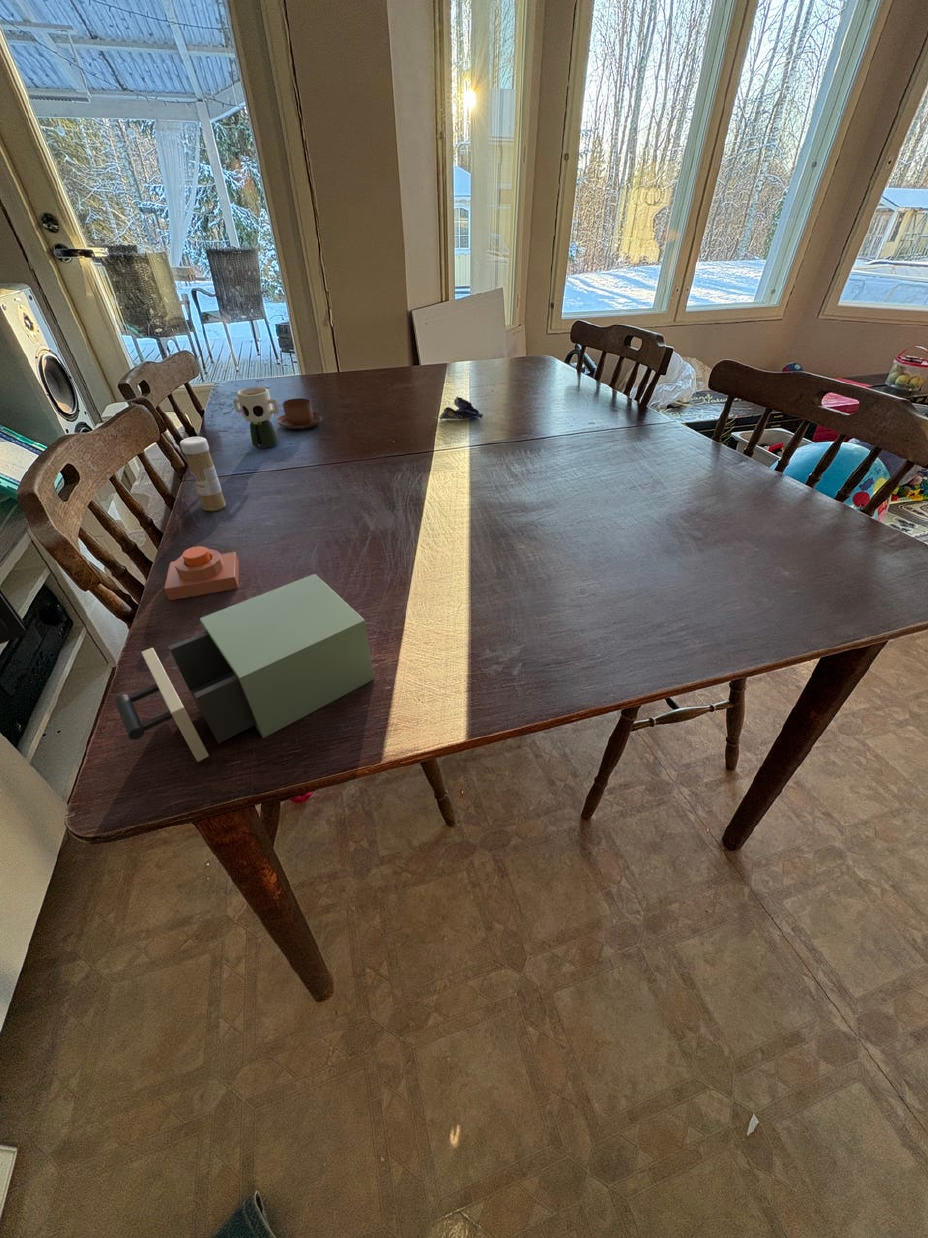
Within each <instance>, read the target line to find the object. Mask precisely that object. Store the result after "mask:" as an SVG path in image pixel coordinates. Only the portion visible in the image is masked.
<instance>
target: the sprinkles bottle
mask: <svg viewBox="0 0 928 1238" xmlns="http://www.w3.org/2000/svg"><path fill="white" fill-rule="evenodd" d="M179 446H180V449H181V451H182V453H183V455H184V456H185V459H186V462H187V465H188V469H189V470H190V474H191V477H192V481H193V483H194V487H195V489H196V490H195V491H196V492H197V495H198V497H199V500H200V503H201V508H202V509H203V510H204V511H206V512H215V511H219V510H222V509H223V508H225V507H226V506H227V501H226V500H225V497H224V495H223V492H222V486H221V483H220V479H219V477H218V474H217V470H216V467H215V465H214V462H213V459H212V456H211V453H210V446H209V443H208V440H207V439H206V438H205V437H204V436H203V437H202V436H191V437H187V438H183V439H182V440H180V442H179Z"/></svg>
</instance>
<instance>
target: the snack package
mask: <svg viewBox="0 0 928 1238" xmlns="http://www.w3.org/2000/svg"><path fill="white" fill-rule="evenodd" d="M453 404H454V406H455V407H456V408H457V409H453V408H452V407H450V406H447V407H445V408H444V410H443V412H442V413H441V414H440V415H439V416H438V418H439V421H442V420H468V419H472V418H474V417H476V418H478V419H479V418H480V419H483V415H484V414H483V413H481V412H480V411H479V410H478V409H477V408H474V406H473V403H472V402H470V401H469V400H467V399H464V398H462V397H459V396H458V395H457V396H456V397H455V399H454V400H453Z"/></svg>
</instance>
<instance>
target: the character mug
mask: <svg viewBox="0 0 928 1238" xmlns="http://www.w3.org/2000/svg"><path fill="white" fill-rule="evenodd" d="M232 400H233V401H232V402H233V405H234V409H235V412H236V413H241V414H242V417H243V418H244V419H245V421H247V422H250V423H249V431H250V432H249V433H250V438H251V444H252V446H253V447H255V448H260V446H261V447H262V448H271V447H273V446H275V445H276V444H278V442H279V438H278V435H277V432H276V430H275V427H274V424H273V423H272V422H271V419H272V418H274V414H276V415H277V414H280V409H279V408H280V407H279V403H278V401H277V399H276V398H271V396H270V392H269V389H268V388H265V387H259V386H258V387H247V388H242V389H239V390H238V391H237V398H233V399H232ZM273 407H274V409H273Z"/></svg>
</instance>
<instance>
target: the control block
mask: <svg viewBox="0 0 928 1238" xmlns="http://www.w3.org/2000/svg"><path fill="white" fill-rule="evenodd" d="M207 550H208V552H209V555H210V558H211V560H210V561H209V562H208V563H206V564H204V565H202V566H197V567H188V566H187V565H186V563H185V561H184V558H183V555H182V554H181V555H180V556H179V557H178V558H177V559H175V560H174V561H170V562H169V565H168V570H167V575H166V578H165V579H166V580H165V584H164V589H163V590H164V592H165V594H166V596H167V598H168V601H174V600H180V599H186V598H191V597H197V596H202V595H209V594H214V593H215V594H216V593H220V592H225V591H226V592H227V591H232V590H237V589H239V586H240V585H239V579H240V575H239V574H240V561H239V558H238V555H237V552H236V551H232V552H225V553H220V552H219V551H217V550H216V549H210V548H207Z"/></svg>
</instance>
